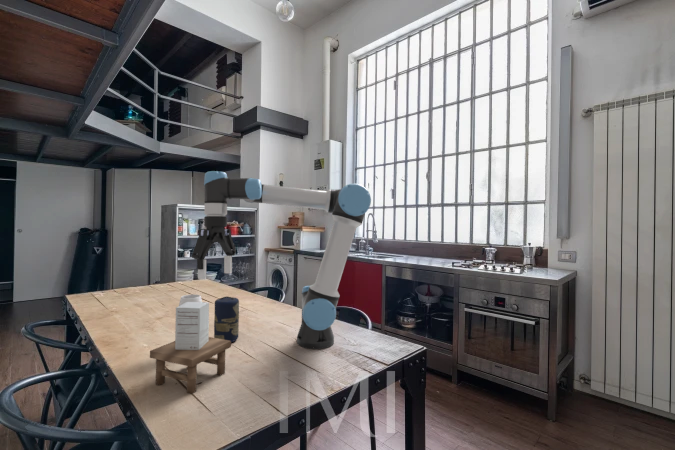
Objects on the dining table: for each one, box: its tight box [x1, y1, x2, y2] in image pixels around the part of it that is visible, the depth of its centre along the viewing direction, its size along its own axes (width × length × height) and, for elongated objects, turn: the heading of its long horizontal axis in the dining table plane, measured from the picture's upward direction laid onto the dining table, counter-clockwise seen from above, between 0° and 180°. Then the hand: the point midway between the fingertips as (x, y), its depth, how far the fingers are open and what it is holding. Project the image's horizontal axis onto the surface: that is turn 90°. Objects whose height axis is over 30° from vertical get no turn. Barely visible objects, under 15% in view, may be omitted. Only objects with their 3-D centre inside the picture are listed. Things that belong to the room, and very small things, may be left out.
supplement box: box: [174, 301, 210, 350], centre depth 99 cm, size 7×7×13 cm
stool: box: [149, 336, 232, 394], centre depth 99 cm, size 16×16×10 cm
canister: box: [213, 296, 240, 343], centre depth 131 cm, size 10×10×18 cm
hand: (215, 276), depth 113 cm, fingers open, 13 cm apart
